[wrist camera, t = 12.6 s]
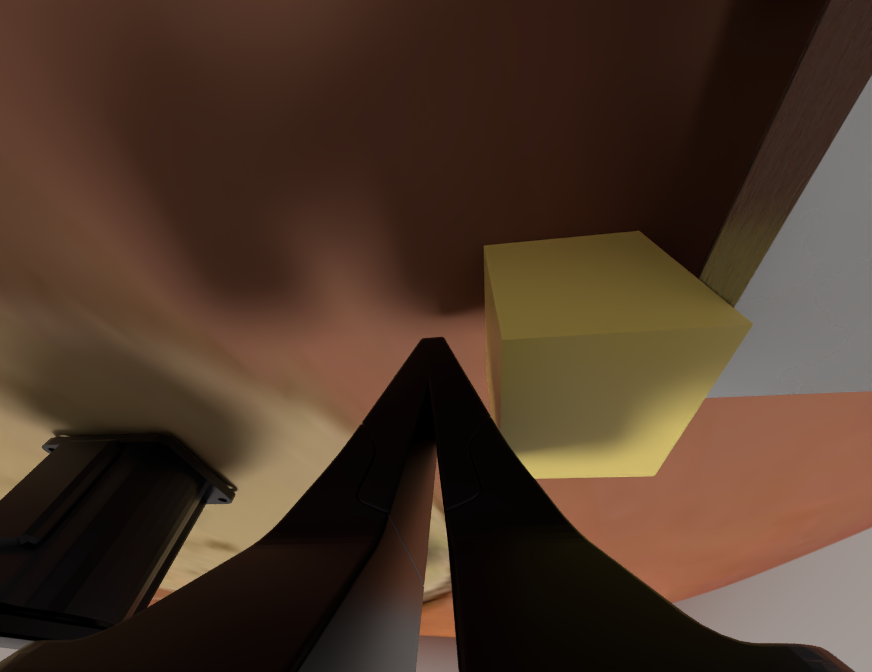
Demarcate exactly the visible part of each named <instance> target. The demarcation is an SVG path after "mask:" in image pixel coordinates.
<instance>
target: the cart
mask: <svg viewBox="0 0 872 672" xmlns="http://www.w3.org/2000/svg"><path fill="white" fill-rule="evenodd" d="M697 278H698V279H699V280H700V281H701V282H703V283H704V284H705V285H706V286H707V287H709V288H710V289H711V290H712V291H714V292H715V293H716V294H717V295H719V296H720V297H721V298H722V299H723V300H725V301H726V302H727V303H728V304H730V305H731V306H732V307H733V308H735V309H736V310H737V311H738V312H739V313H741V314H742V315H743V316H744V317H746V318H747V319H748V320H749V321H751V322H752V323H753V326H752V327H751V329H750V330H749V332H748V333H747V335H746V336H745V338H744V339H743V341H742V343H741V344H740V346H739V347H738V349H737V350H736V352H735V353H734V355H733V356H732V358H731V359H730V361H729V362H728V364H727V366H726V367H725V369H724V370H723V372H722V373H721V375H720V376H719V378H718V379H717V381H716V382H715V384H714V385H713V387H712V388H711V390H710V392H709V393H708V395H707V396H706V398H714V397H738V396H763V395H787V394H812V393H836V392H861V391H872V0H826V2H825V4H824V6H823V8H822V10H821V12H820V14H819V17H818V19H817V21H816V23H815V25H814V27H813V29H812V31H811V34H810V36H809V38H808V40H807V42H806V44H805V46H804V49H803V51H802V53H801V55H800V57H799V59H798V61H797V64H796V66H795V68H794V70H793V72H792V74H791V76H790V79H789V81H788V83H787V85H786V87H785V89H784V91H783V94H782V96H781V98H780V100H779V102H778V104H777V106H776V109H775V111H774V113H773V115H772V117H771V119H770V121H769V124H768V126H767V128H766V130H765V132H764V134H763V136H762V138H761V141H760V143H759V145H758V147H757V149H756V151H755V153H754V156H753V158H752V160H751V162H750V164H749V166H748V168H747V171H746V173H745V175H744V177H743V179H742V181H741V183H740V186H739V188H738V190H737V192H736V194H735V196H734V198H733V201H732V203H731V205H730V207H729V209H728V211H727V213H726V216H725V218H724V220H723V222H722V224H721V226H720V228H719V230H718V233H717V235H716V237H715V239H714V241H713V243H712V245H711V248H710V250H709V252H708V254H707V256H706V258H705V260H704V263H703V265H702V267H701V269H700V271H699V273H698V275H697Z"/></svg>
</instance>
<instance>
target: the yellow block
mask: <svg viewBox="0 0 872 672" xmlns="http://www.w3.org/2000/svg"><path fill="white" fill-rule="evenodd" d="M484 290H485V337H486V375H487V384H488V392H489V400H490V408H491V417H492V419H493V421H494V422H495V424H496V426H497V427H498V429H499V431H500V432H501V434H502V435H503V437H504V438H505V440H506V442H507V443H508V445H509V446H510V447H511V449H512V450H513V451H514V453H515V454H516V456H517V457H518V458H519V460H520V461H521V462H522V464H523V465H524V466H525V467H526V469H527V470H528V471H529V472H530V474H531V475H532V476H533V477H534V479H537V478H586V477H634V476H655V474H656V473H657V471H658V470H659V468H660V467H661V465H662V464H663V462H664V460H665V459H666V457H667V456H668V454H669V453H670V451H671V450H672V448H673V447H674V445H675V444H676V442H677V441H678V439H679V437H680V436H681V434H682V433H683V431H684V430H685V428H686V427H687V425H688V424H689V422H690V421H691V419H692V418H693V416H694V415H695V413H696V411H697V410H698V408H699V407H700V405H701V404H702V402H703V401H704V399H705V398H706V396H707V395H708V393H709V392H710V390H711V388H712V387H713V385H714V384H715V382H716V381H717V379H718V378H719V376H720V375H721V373H722V372H723V370H724V369H725V367H726V366H727V364H728V362H729V361H730V359H731V358H732V356H733V355H734V353H735V352H736V350H737V349H738V347H739V346H740V344H741V343H742V341H743V339H744V338H745V336H746V335H747V333H748V332H749V330H750V329H751V327H752V326H753V323H752V322H751V321H749V320H748V319H747V318H746V317H744V316H743V315H742V314H741V313H739V312H738V311H737V310H736V309H735V308H733V307H732V306H731V305H730V304H728V303H727V302H726V301H725V300H723V299H722V298H721V297H720V296H719V295H717V294H716V293H715V292H714V291H712V290H711V289H710V288H709V287H707V286H706V285H705V284H704V283H703V282H701V281H700V280H699V279H698V278H696V277H695V276H694V275H693V274H691V273H690V272H689V271H688V270H687V269H685V268H684V267H683V266H682V265H680V264H679V263H678V262H677V261H676V260H674V259H673V258H672V257H671V256H669V255H668V254H667V253H666V252H664V251H663V250H662V249H661V248H660V247H658V246H657V245H656V244H655V243H653V242H652V241H651V240H650V239H648V238H647V237H646V236H645V235H644V234H642V233H641V232H640V231H631V232H620V233H610V234H599V235H589V236H578V237H568V238H557V239H546V240H536V241H525V242H515V243H504V244H494V245H484Z"/></svg>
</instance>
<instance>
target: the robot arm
mask: <svg viewBox="0 0 872 672" xmlns="http://www.w3.org/2000/svg"><path fill="white" fill-rule="evenodd" d="M42 448H43V449H44V450H45V451H46V452H48V453H50V454H49V455H48V456H47V457H46V458H45V459H44V460H43V461H42V462H41V463H40V464H38V465H37V466H36V467H35V468H34V469H33V470H32V471H31V472H30V473H29V474H28V475H27V476H26V477H25V478H24V479H23V480H22V481H20V482H19V483H18V484H17V485H16V486H15V487H14V488H13V489H12V490H11V491H10V492H9V493H8V494H7V495H6V496H5V497H3V498H2V499H1V500H0V647H2V648H11V649H19V650H18V651H16V652H15V653H13V654H12V655H10V656H9V657H7V658H6V659H4V660H2V661H1V662H0V672H416V662H417V651H418V641H419V632H420V622H421V612H422V602H423V592H424V586H423V585H424V581H425V571H426V560H427V550H428V540H429V530H430V520H431V510H432V500H433V489H434V479H435V469H436V459H437V458H438V466H439V474H440V482H441V490H442V498H443V506H444V513H445V522H446V530H447V539H448V549H449V561H450V573H451V585H452V597H453V609H454V621H455V633H456V645H457V657H458V668H459V672H855V671H853V670H852V669H851V668H850V667H848V666H847V665H846V664H844V663H843V662H842V661H841V660H839V659H838V658H837V657H836V656H834V655H833V654H831V653H830V652H829V651H827V650H825V649H823V648H821V647H816V646H812V645H804V644H787V643H785V644H784V643H750V642H743V641H739V640H736V639H733V638H730V637H727V636H724V635H721V634H719V633H717V632H715V631H713V630H711V629H709V628H708V627H705V626H703V625H702V624H700V623H699V622H697V621H696V620H694V619H693V618H691V617H690V616H688V615H687V614H685V613H684V612H683V611H681V610H680V609H679V608H677V607H676V606H675V605H673V604H672V603H671V602H669V601H668V600H667V599H665V598H664V597H663V596H661V595H660V594H659V593H657V592H656V591H655V590H653V589H652V588H651V587H649V586H648V585H647V584H645V583H644V582H643V581H642V580H640V579H639V578H638V577H636V576H635V575H634V574H632V573H631V572H630V571H628V570H627V569H626V568H624V567H623V566H622V565H620V564H619V563H618V562H616V561H615V560H614V559H612V558H611V557H610V556H608V555H607V554H606V553H604V552H603V551H602V550H600V549H599V548H598V547H596V546H595V545H594V544H593V543H591V542H590V541H589V540H588V539H586V538H585V537H584V536H583V535H582V534H581V533H580V532H579V531H578V530H577V529H576V528H575V527H574V526H573V525H572V524H571V523H570V522H569V521H568V520H567V519H566V517H565V516H564V515H563V514H562V513H561V511H560V510H559V509H558V508H557V507H556V505H555V504H554V503H553V501H552V500H551V499H550V498H549V496H548V495H547V494H546V493H545V491H544V490H543V489H542V488H541V486H540V485H539V484H538V483H537V481H536V480H535V479H534V477H533V476H532V475H531V474H530V472H529V471H528V470H527V469H526V467H525V466H524V465H523V464H522V462H521V461H520V460H519V458H518V457H517V456H516V454H515V453H514V451H513V450H512V449H511V447H510V446H509V445H508V443H507V442H506V440H505V438H504V437H503V435H502V434H501V432H500V431H499V429H498V427H497V426H496V424H495V422H494V421H493V419H492V418H490V414H489V413H488V411H487V409H486V408H485V406H484V404H483V402H482V401H481V399H480V397H479V396H478V394H477V392H476V391H475V389H474V387H473V386H472V384H471V382H470V381H469V379H468V377H467V375H466V374H465V372H464V370H463V369H462V367H461V365H460V364H459V362H458V360H457V359H456V357H455V355H454V354H453V352H452V350H451V349H450V347H449V345H448V343H447V342H446V340H445V339H444V337H433V338H423V339H421V340H420V342H419V343H418V344H417V346H416V347H415V349H414V350H413V352H412V353H411V354H410V356H409V357H408V359H407V360H406V361H405V363H404V364H403V366H402V367H401V368H400V370H399V371H398V373H397V374H396V375H395V377H394V378H393V380H392V381H391V382H390V384H389V385H388V387H387V388H386V389H385V391H384V392H383V394H382V395H381V397H380V398H379V399H378V401H377V402H376V404H375V405H374V406H373V408H372V409H371V411H370V412H369V413H368V415H367V416H366V418H365V419H364V420H363V422H362V424H361V425H360V426H359V427H358V429H357V430H356V432H355V433H354V434H353V436H352V437H351V438H350V440H349V441H348V442H347V444H346V445H345V446H344V448H343V449H342V450H341V452H340V453H339V454H338V455H337V456H336V458H335V459H334V460H333V461H332V462H331V464H330V465H329V466H328V467H327V468H326V470H325V471H324V472H323V473H322V474H321V475H320V477H319V478H318V479H317V480H316V481H315V482H314V483H313V485H312V486H311V487H310V488H309V489H308V490H307V491H306V492H305V494H304V495H303V496H302V497H301V498H300V499H299V500H298V502H297V503H296V504H295V505H294V506H293V507H292V508H291V510H290V511H289V512H288V513H287V514H286V515H285V516H284V517H283V519H282V520H281V521H280V522H279V523H278V524H277V525H276V526H275V527H274V528H273V529H272V530H271V531H270V532H269V533H267V534H266V535H265V536H264V537H263V538H261V539H260V540H259V541H257V542H256V543H255V544H253V545H252V546H250V547H249V548H247V549H246V550H244V551H242V552H241V553H239V554H237V555H236V556H234V557H232V558H230V559H229V560H227V561H225V562H224V563H222V564H220V565H219V566H217V567H215V568H214V569H212V570H210V571H208V572H207V573H205V574H203V575H202V576H200V577H198V578H197V579H195V580H193V581H192V582H190V583H188V584H187V585H185V586H183V587H181V588H180V589H178V590H176V591H175V592H173V593H171V594H170V595H168V596H166V597H165V598H163V599H161V600H159V601H158V602H156V603H154V604H153V605H151V606H149V607H148V605H149V603H150V601H151V600H152V598H153V596H154V594H155V593H156V591H157V589H158V587H159V586H160V584H161V582H162V580H163V579H164V577H165V575H166V573H167V572H168V570H169V568H170V566H171V565H172V563H173V561H174V559H175V558H176V556H177V554H178V552H179V551H180V549H181V547H182V545H183V544H184V542H185V540H186V538H187V537H188V535H189V533H190V531H191V530H192V528H193V526H194V524H195V523H196V521H197V519H198V517H199V515H200V514H201V512H202V510H203V508H204V507H205V505H206V504H230V503H232V501H233V499H234V497H235V493H234V492H233V491H232V490H231V489H230V488H229V487H228V486H226V485H225V484H224V483H223V482H222V481H221V480H220V479H219V478H218V477H216V476H215V475H214V474H213V473H212V472H211V471H210V470H209V469H208V468H206V467H205V466H204V465H203V464H202V463H201V462H200V461H199V460H198V459H196V458H195V457H194V456H193V455H192V454H191V453H190V452H189V451H188V450H187V449H185V448H184V447H183V446H182V445H181V444H180V443H179V442H178V441H177V440H175V439H174V438H173V437H171V436H168V435H165V434H135V435H108V436H81V437H54V438H50V439H49V440H48V441H47V442H46V443H45V444H44V445H43V446H42ZM147 607H148V608H147Z"/></svg>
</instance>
